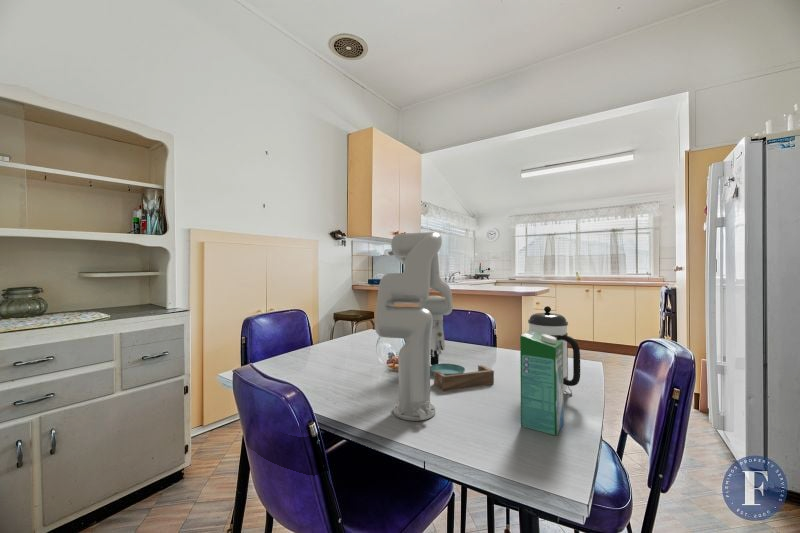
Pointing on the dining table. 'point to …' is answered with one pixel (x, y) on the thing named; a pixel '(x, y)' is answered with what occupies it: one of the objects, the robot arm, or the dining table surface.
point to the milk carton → (541, 382)
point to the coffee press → (558, 329)
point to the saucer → (447, 369)
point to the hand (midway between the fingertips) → (434, 364)
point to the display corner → (464, 379)
